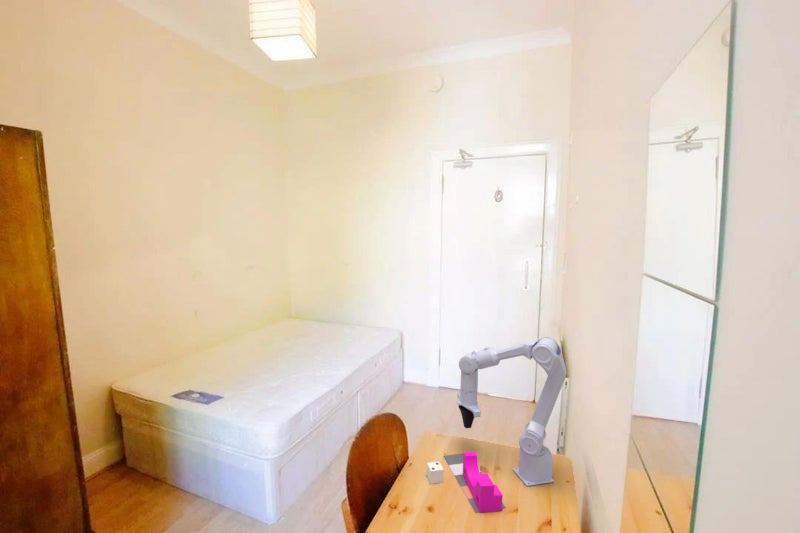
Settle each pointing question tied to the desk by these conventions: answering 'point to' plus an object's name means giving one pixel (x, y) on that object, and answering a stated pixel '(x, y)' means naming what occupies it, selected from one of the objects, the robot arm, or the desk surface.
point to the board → (461, 476)
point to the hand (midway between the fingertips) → (467, 427)
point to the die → (435, 472)
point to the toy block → (481, 485)
